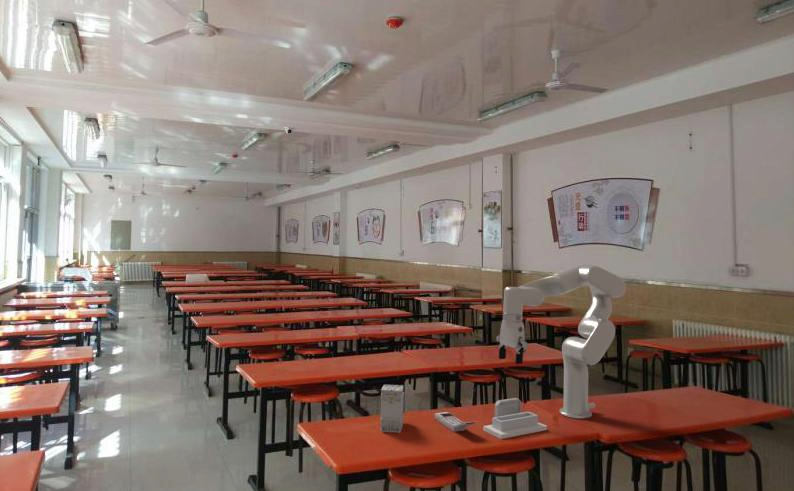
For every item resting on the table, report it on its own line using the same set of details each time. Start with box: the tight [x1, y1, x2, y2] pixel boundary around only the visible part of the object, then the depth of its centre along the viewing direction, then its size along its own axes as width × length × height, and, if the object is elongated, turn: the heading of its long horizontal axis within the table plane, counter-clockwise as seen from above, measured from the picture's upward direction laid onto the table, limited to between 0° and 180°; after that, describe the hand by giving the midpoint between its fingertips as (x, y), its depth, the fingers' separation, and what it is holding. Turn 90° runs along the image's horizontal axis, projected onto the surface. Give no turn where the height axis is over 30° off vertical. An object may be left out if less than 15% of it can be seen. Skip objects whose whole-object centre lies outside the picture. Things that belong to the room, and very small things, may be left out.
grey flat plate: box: [494, 397, 522, 417], centre depth 201 cm, size 2×12×8 cm, turn 117°
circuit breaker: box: [379, 384, 405, 434], centre depth 191 cm, size 8×14×15 cm, turn 174°
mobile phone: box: [434, 411, 478, 433], centre depth 191 cm, size 6×6×25 cm
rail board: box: [482, 411, 548, 440], centre depth 188 cm, size 22×10×5 cm, turn 118°
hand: (510, 361), depth 200 cm, fingers open, 9 cm apart
